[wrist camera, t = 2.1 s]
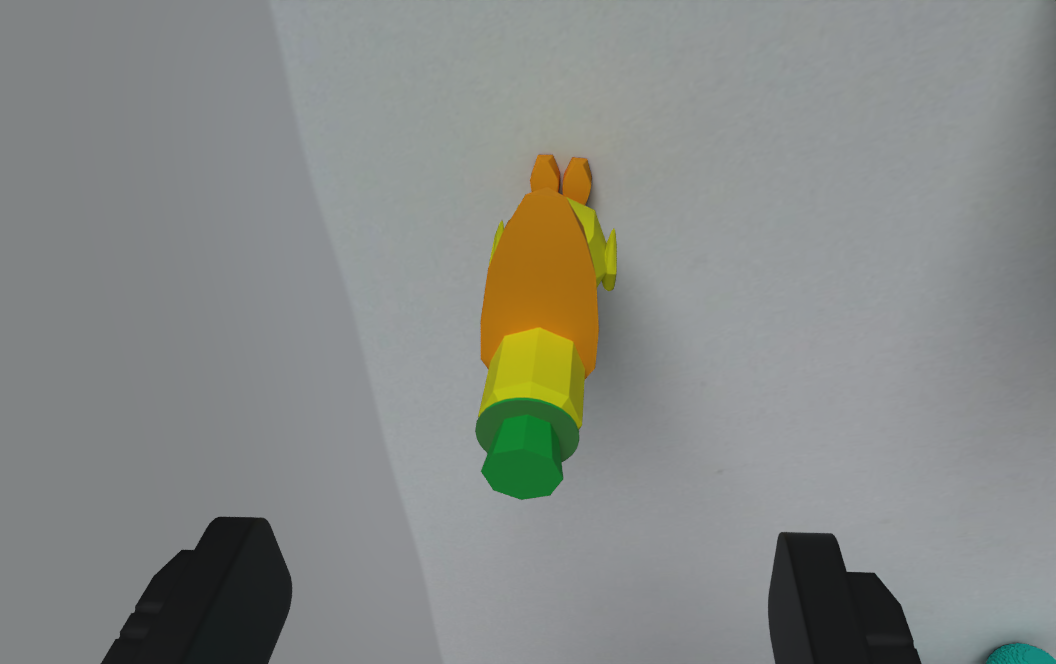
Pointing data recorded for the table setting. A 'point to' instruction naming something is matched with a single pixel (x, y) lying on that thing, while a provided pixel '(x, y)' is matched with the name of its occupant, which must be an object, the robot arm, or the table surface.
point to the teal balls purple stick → (1020, 655)
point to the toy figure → (541, 330)
